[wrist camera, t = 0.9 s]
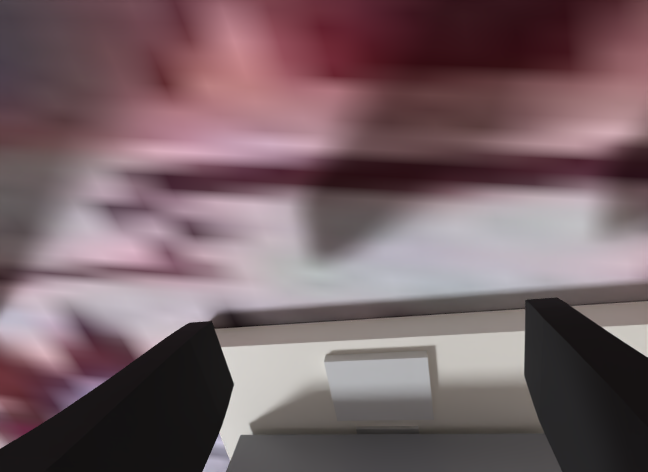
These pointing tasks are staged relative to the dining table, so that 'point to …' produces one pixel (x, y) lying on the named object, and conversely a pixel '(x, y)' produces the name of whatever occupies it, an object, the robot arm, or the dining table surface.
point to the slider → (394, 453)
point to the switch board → (394, 373)
